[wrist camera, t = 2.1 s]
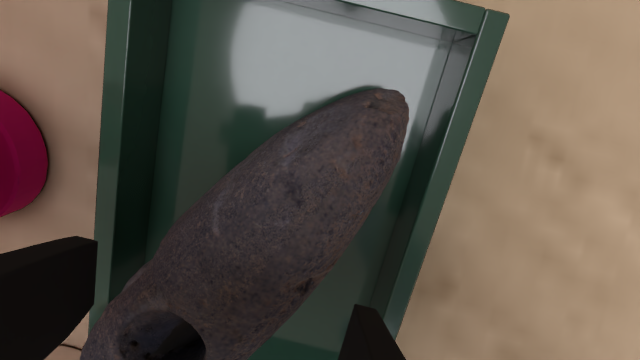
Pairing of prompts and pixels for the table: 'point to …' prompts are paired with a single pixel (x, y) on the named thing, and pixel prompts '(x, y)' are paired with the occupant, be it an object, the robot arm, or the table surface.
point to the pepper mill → (19, 157)
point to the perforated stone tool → (258, 238)
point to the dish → (274, 115)
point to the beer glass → (64, 354)
